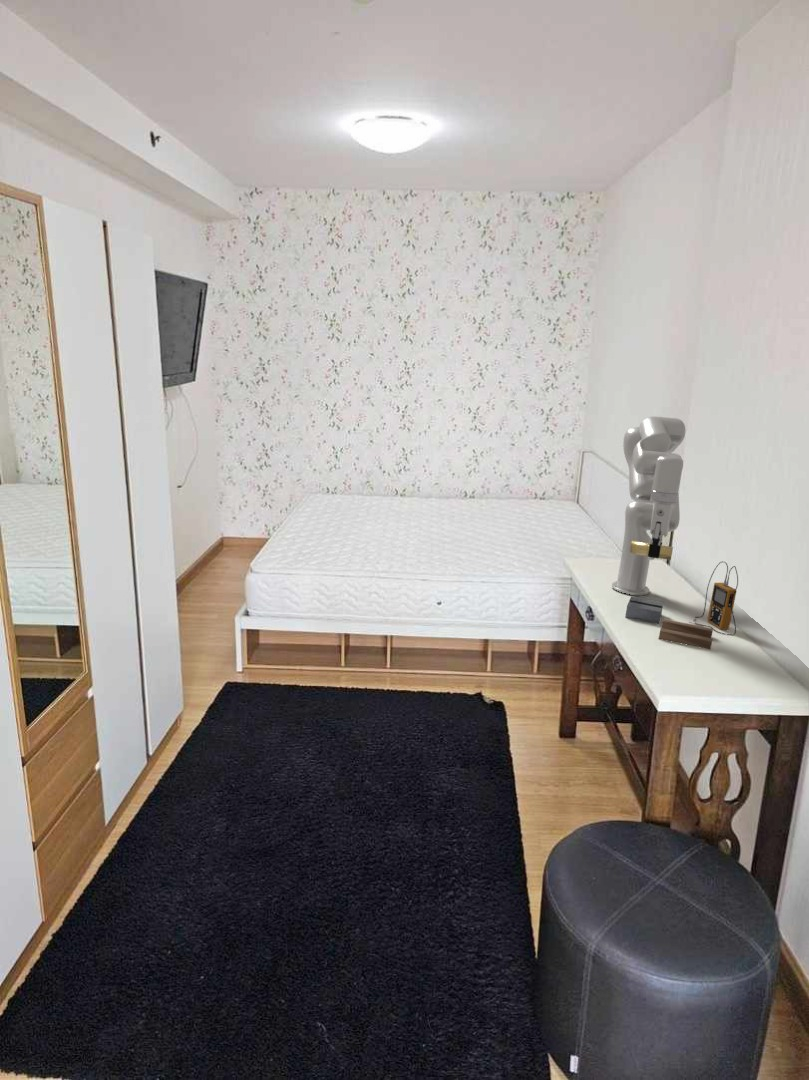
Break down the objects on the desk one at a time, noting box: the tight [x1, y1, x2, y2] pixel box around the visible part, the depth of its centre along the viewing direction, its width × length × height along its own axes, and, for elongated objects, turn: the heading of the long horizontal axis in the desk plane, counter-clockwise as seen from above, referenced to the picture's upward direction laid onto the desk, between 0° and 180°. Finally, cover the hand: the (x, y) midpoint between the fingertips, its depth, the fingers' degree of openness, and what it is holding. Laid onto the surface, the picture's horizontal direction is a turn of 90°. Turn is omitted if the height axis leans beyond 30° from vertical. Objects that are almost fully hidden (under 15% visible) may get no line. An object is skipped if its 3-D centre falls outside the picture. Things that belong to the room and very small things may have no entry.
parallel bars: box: [658, 618, 714, 651], centre depth 212 cm, size 12×14×2 cm
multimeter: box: [688, 561, 739, 636], centre depth 220 cm, size 15×10×20 cm
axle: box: [630, 541, 674, 561], centre depth 222 cm, size 12×4×4 cm, turn 66°
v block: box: [625, 595, 664, 625], centre depth 227 cm, size 10×10×4 cm
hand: (654, 555), depth 222 cm, fingers closed on axle, 4 cm apart
